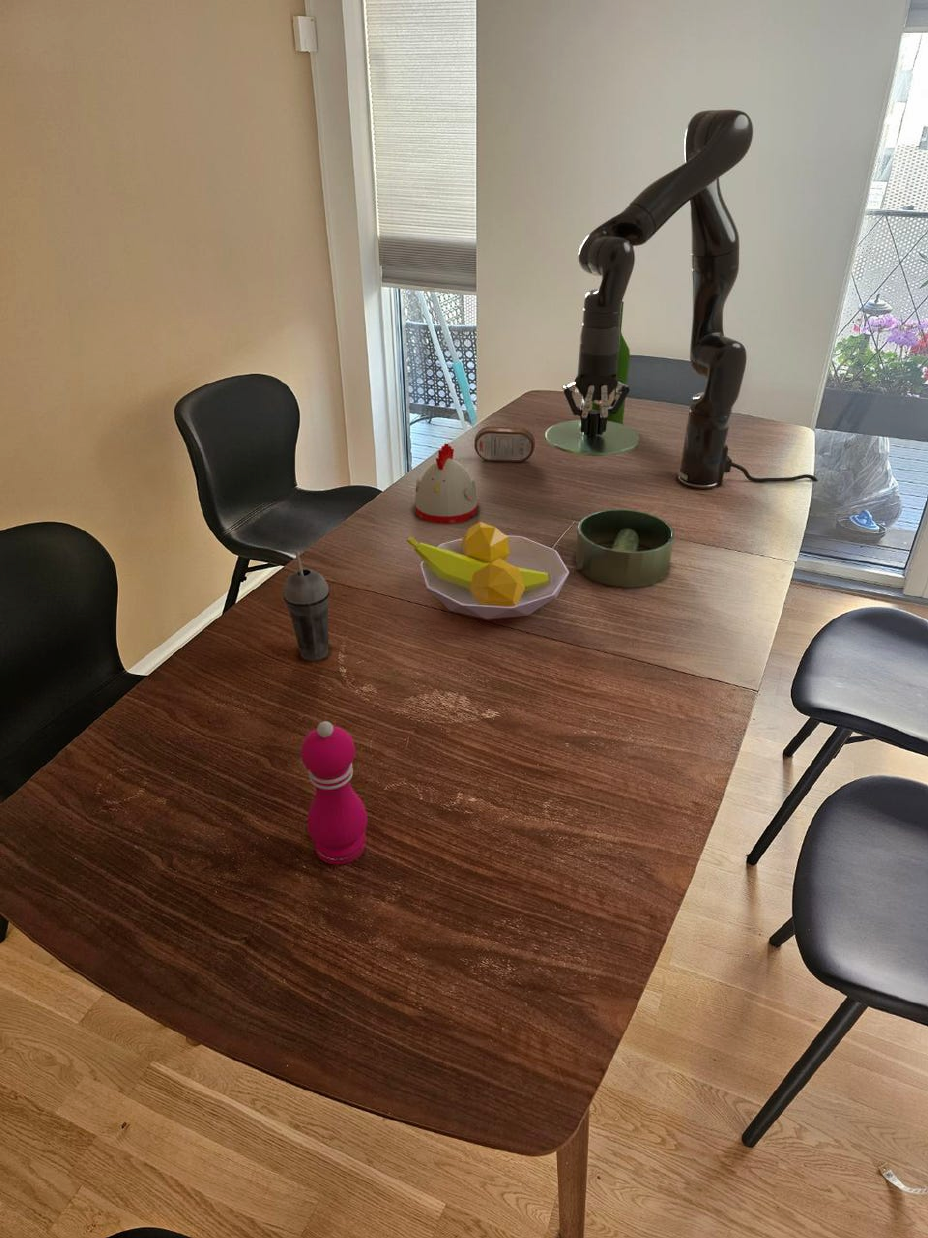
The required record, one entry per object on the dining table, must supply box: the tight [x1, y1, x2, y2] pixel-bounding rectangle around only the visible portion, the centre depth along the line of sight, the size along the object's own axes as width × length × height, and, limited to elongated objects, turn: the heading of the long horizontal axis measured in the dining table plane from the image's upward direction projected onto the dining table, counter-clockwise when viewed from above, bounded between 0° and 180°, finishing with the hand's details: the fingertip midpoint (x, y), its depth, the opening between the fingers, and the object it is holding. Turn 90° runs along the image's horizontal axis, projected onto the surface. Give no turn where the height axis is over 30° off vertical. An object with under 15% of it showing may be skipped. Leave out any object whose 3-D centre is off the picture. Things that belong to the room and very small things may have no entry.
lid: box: [545, 409, 640, 457], centre depth 164 cm, size 19×19×6 cm
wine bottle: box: [590, 300, 631, 425], centre depth 212 cm, size 9×9×32 cm
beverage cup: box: [283, 549, 331, 662], centre depth 128 cm, size 7×7×20 cm
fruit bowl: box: [406, 521, 570, 620], centre depth 146 cm, size 28×27×11 cm
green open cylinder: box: [575, 508, 675, 589], centre depth 156 cm, size 18×18×8 cm
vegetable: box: [610, 529, 640, 552], centre depth 156 cm, size 14×5×5 cm, turn 161°
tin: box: [473, 426, 536, 463], centre depth 199 cm, size 15×3×8 cm, turn 84°
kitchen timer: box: [414, 443, 479, 525], centre depth 174 cm, size 14×14×15 cm
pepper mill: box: [300, 720, 369, 866], centre depth 94 cm, size 7×7×20 cm
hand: (592, 433), depth 165 cm, fingers closed on lid, 2 cm apart
